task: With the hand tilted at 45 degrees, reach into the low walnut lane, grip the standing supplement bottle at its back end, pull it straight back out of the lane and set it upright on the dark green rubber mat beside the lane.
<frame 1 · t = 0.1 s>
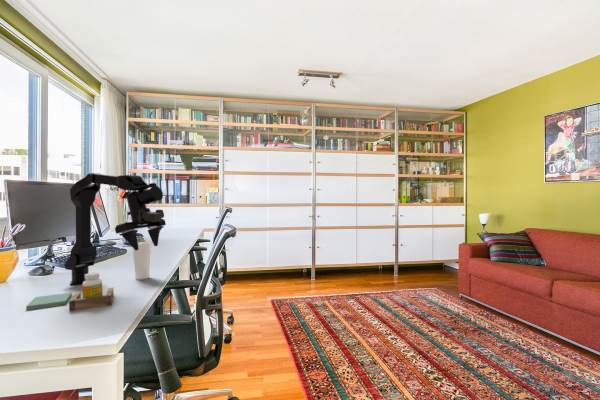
hand: (146, 248, 118), 15 cm above the table, tool pointing down, fingers open, 9 cm apart
walnut lane: (92, 303, 104), on the table
white tall cylinder: (142, 278, 134), on the table
green mat: (50, 302, 105), on the table
supplement bottle: (92, 303, 104), on the table
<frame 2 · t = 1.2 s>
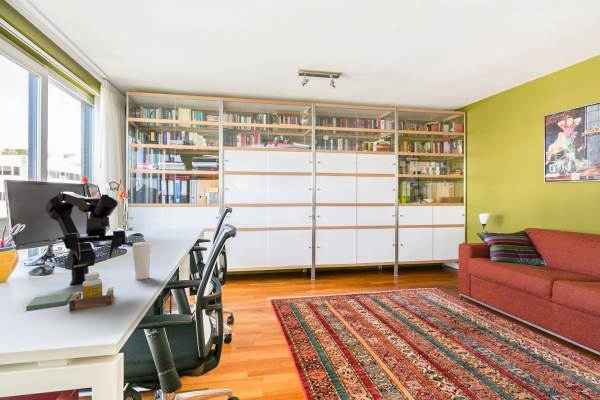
hand: (94, 258, 110), 13 cm above the table, tool tilted 45°, fingers open, 9 cm apart
nothing on the table moved.
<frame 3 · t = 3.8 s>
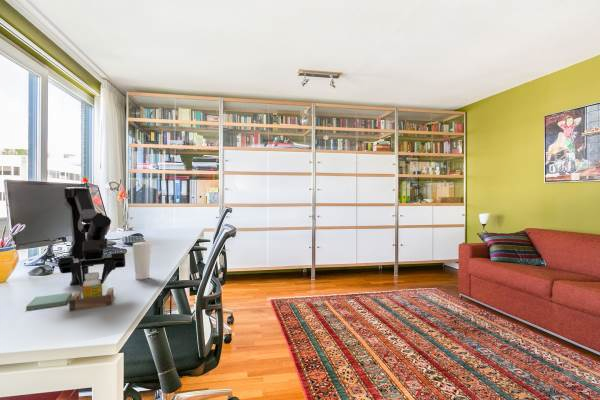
hand: (91, 284, 102), 7 cm above the table, tool tilted 45°, fingers closed on supplement bottle, 5 cm apart
supplement bottle: (92, 303, 104), on the table, touching gripper
everything else where it was.
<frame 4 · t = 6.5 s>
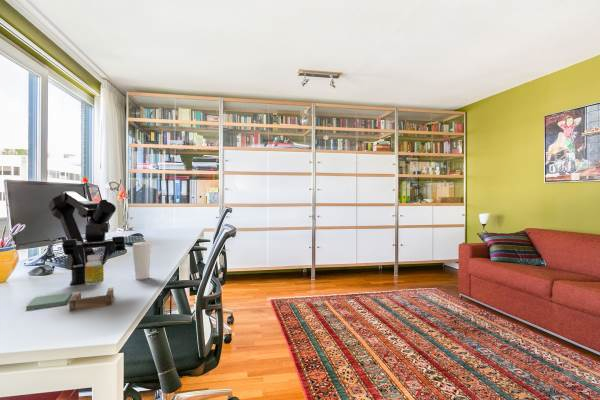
hand: (93, 265, 109), 11 cm above the table, tool tilted 45°, fingers closed on supplement bottle, 5 cm apart
supplement bottle: (94, 283, 111), point 4 cm above the table, touching gripper
everything else where it was.
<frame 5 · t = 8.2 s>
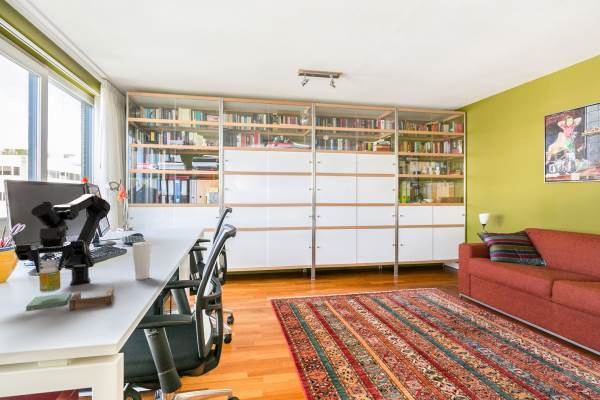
hand: (48, 271, 104), 11 cm above the table, tool tilted 45°, fingers closed on supplement bottle, 5 cm apart
supplement bottle: (50, 290, 105), point 4 cm above the table, touching gripper
everything else where it was.
when the fingers open (9 cm above the table, at t = 9.4 s): supplement bottle stays where it is, resting on green mat.
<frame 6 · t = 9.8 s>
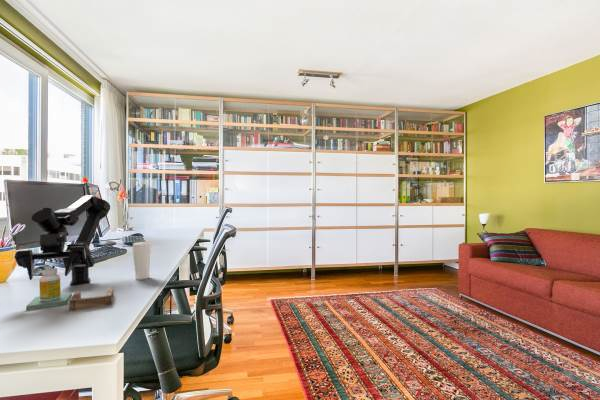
hand: (48, 277, 103), 9 cm above the table, tool tilted 45°, fingers open, 9 cm apart
supplement bottle: (50, 299, 105), point 1 cm above the table, touching green mat
everything else where it was.
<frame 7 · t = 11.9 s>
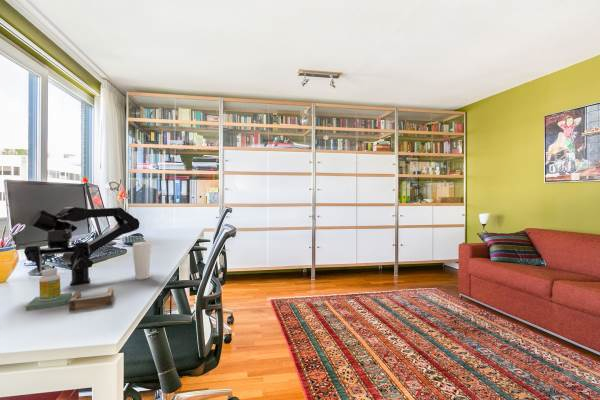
hand: (55, 270, 112), 9 cm above the table, tool tilted 45°, fingers open, 9 cm apart
nothing on the table moved.
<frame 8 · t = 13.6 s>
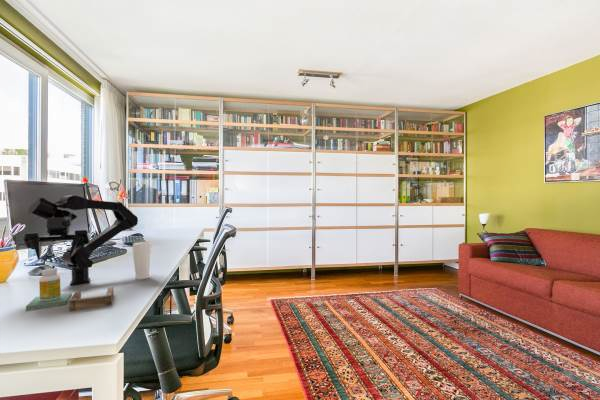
hand: (54, 257, 112), 14 cm above the table, tool tilted 45°, fingers open, 9 cm apart
nothing on the table moved.
at the end: supplement bottle inside the target area on the green mat (0.2 cm from its centre), point 1.0 cm above the green mat's base; supplement bottle tilted 0°; the gripper is holding nothing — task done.
